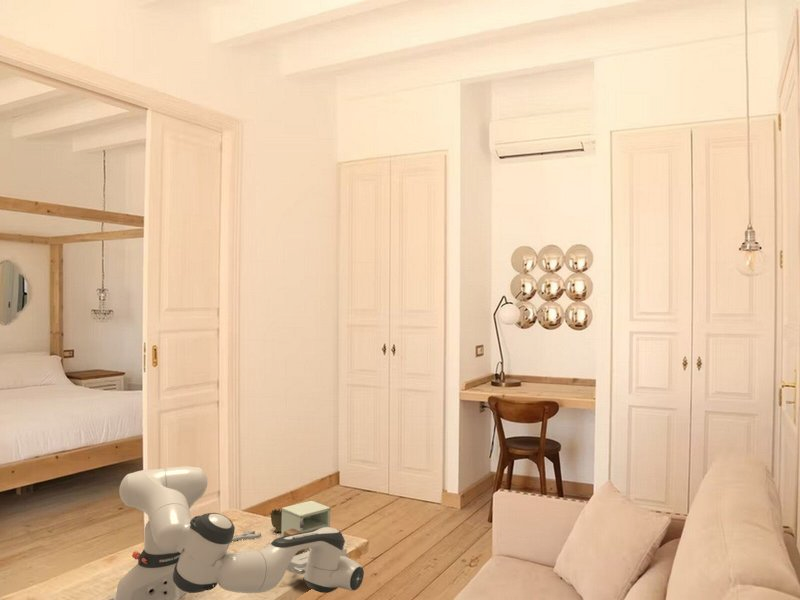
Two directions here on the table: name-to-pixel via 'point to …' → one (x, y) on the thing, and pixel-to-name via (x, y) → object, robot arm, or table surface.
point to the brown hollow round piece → (276, 519)
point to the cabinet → (305, 517)
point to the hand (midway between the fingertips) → (301, 552)
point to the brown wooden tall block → (290, 532)
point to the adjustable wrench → (247, 536)
